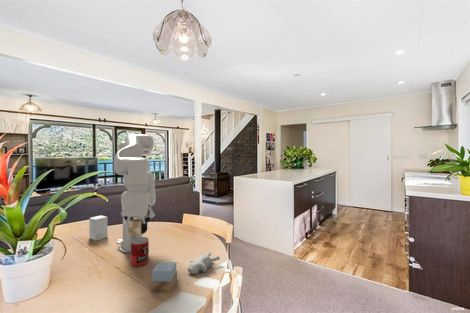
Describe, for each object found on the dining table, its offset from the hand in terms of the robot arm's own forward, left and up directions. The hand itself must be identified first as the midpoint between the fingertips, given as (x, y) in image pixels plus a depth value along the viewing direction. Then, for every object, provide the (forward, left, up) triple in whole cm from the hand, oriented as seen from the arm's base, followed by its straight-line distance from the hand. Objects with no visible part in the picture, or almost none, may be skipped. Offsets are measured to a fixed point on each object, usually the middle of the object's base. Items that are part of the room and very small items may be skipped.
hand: (137, 231), depth 94 cm
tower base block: (+14, -4, -20) cm, 24 cm away
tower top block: (+14, -4, -16) cm, 21 cm away
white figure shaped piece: (+25, +12, -20) cm, 34 cm away
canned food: (-6, +12, -19) cm, 24 cm away
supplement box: (-48, +38, -19) cm, 64 cm away
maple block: (0, 0, -1) cm, 1 cm away
